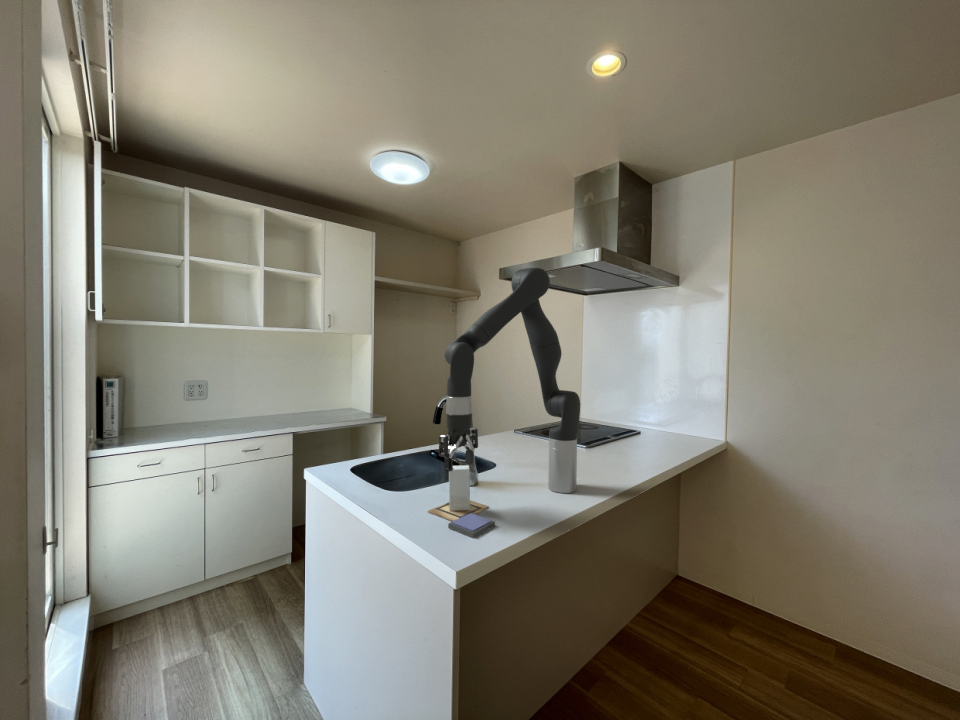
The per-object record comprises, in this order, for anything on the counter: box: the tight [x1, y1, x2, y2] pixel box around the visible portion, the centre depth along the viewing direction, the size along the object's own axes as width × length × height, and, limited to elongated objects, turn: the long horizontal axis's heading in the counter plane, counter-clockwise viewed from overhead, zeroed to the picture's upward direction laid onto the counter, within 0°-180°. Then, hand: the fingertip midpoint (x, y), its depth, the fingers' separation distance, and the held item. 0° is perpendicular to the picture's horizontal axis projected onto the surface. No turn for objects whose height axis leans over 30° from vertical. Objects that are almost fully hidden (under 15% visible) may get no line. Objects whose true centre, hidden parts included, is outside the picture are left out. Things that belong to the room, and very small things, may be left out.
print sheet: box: [427, 499, 490, 522], centre depth 113 cm, size 14×11×1 cm
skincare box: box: [448, 464, 471, 511], centre depth 113 cm, size 6×4×12 cm
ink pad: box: [447, 513, 496, 539], centre depth 102 cm, size 9×8×2 cm
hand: (459, 467), depth 113 cm, fingers open, 8 cm apart
